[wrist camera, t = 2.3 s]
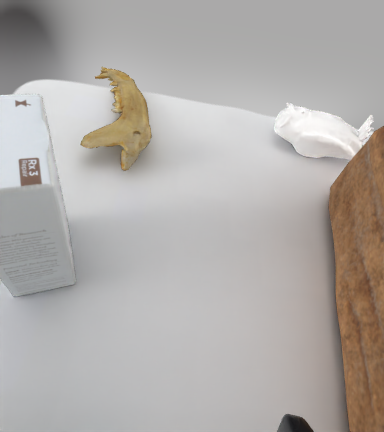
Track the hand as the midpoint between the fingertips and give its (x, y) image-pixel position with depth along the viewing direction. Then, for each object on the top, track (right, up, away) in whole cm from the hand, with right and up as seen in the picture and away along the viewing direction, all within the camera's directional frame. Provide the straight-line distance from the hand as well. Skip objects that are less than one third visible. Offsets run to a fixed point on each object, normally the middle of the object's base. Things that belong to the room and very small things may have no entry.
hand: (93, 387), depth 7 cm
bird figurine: (+21, +12, +26) cm, 36 cm away
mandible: (-3, +16, +29) cm, 33 cm away
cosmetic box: (-9, +1, +17) cm, 19 cm away
